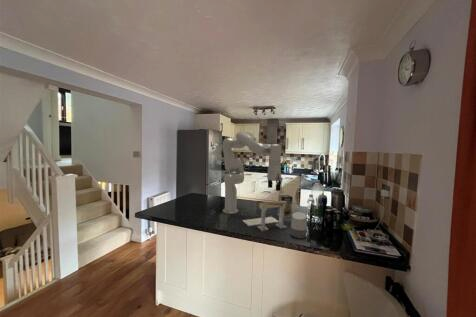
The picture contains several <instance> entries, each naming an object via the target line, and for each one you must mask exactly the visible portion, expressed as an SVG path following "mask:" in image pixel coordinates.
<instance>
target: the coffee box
mask: <svg viewBox="0 0 476 317" xmlns="http://www.w3.org/2000/svg"><path fill="white" fill-rule="evenodd" d="M293 198H294V197H293V196H291V195H289V194H287V195H286V194H284V195H278V199H277V201H286V202H287V206H285V209H284V218H283V219H289V218H292V214H293V200H294V199H293ZM279 213H280V207H277V216H278V217H279Z"/></svg>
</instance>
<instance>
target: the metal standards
mask: <svg viewBox="0 0 476 317" xmlns="http://www.w3.org/2000/svg"><path fill="white" fill-rule="evenodd" d="M285 206H286V204H282V207H280V213H279V216H278V221H279V222H276V223H275V226H276V227H278V228H279V229H285V228H288V226H287V225H286V224H285V223H284V219H285V218H284V209H285ZM260 210H261V215H260V216H261V217H260V218H261V225H256V226H257V229H258V230H259V231H261V232H264V231H269V228H268V227H267V226H266V224H265V217H266V214H267V213H266V212H267V211H268V208H267V206H264V209H260Z"/></svg>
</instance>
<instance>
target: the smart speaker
mask: <svg viewBox="0 0 476 317" xmlns="http://www.w3.org/2000/svg"><path fill="white" fill-rule="evenodd" d="M307 219H308V216H307V214H306V213H304V212H300V211H296V212H294V213H293V212H292V217H291V223H290V234H291V236H292V237H293V238H295V239H300V240H302V239H304V238H306V237H307V235H308V220H307Z"/></svg>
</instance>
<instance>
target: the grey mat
mask: <svg viewBox="0 0 476 317" xmlns="http://www.w3.org/2000/svg"><path fill="white" fill-rule="evenodd" d="M242 221H243V223H244V224H246V226H248V227H251V226H252V227H255V226H261V217H258V218H250V219H242ZM274 223H275V224H277V223H279V219H276V218H275V217H273V216H267V217H266V216H265V225H267V224H274Z"/></svg>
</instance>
